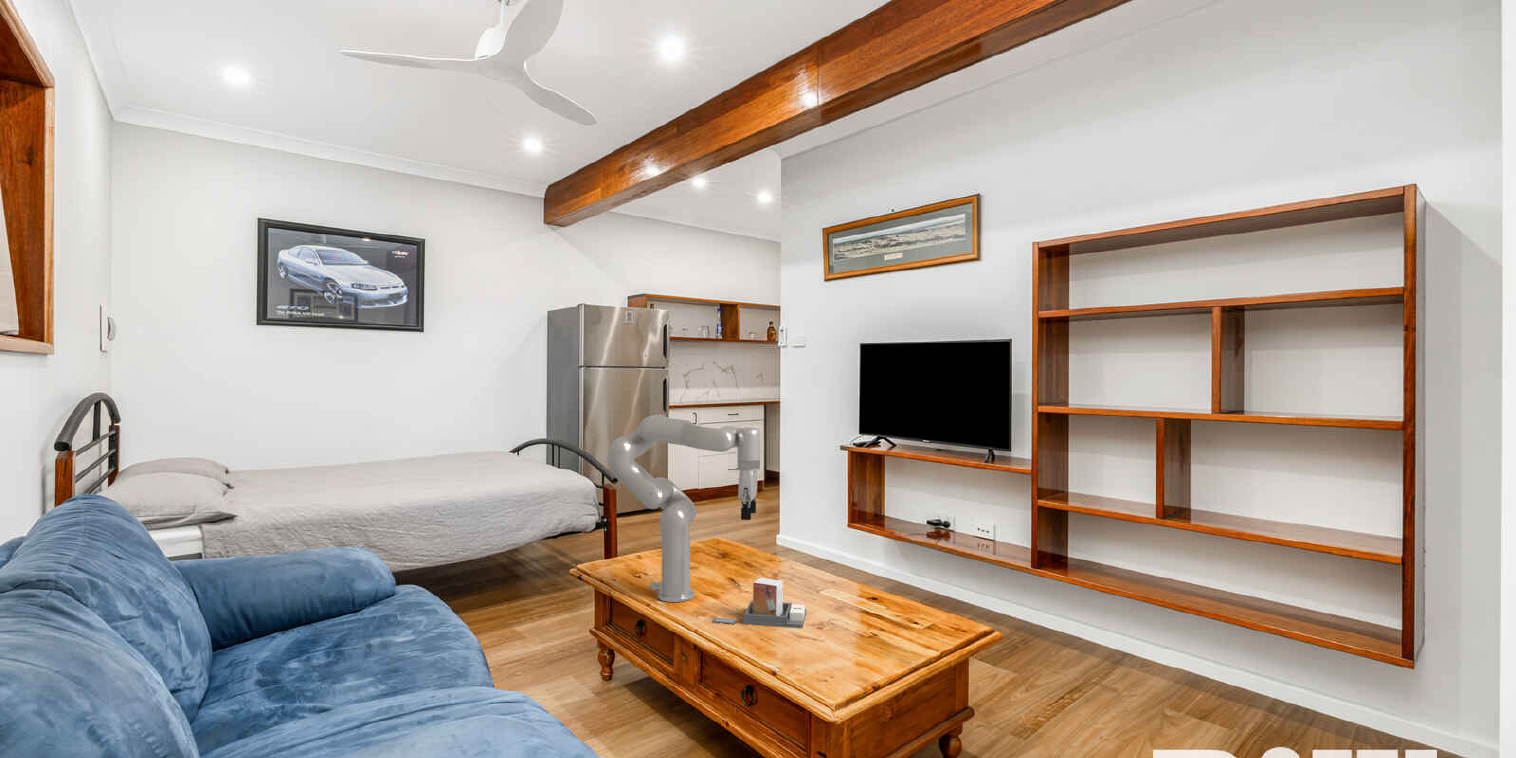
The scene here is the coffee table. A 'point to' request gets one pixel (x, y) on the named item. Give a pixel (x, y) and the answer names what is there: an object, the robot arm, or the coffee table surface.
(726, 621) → the phone
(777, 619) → the grey tray
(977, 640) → the coffee table surface
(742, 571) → the coffee table surface
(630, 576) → the coffee table surface
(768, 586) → the small box
